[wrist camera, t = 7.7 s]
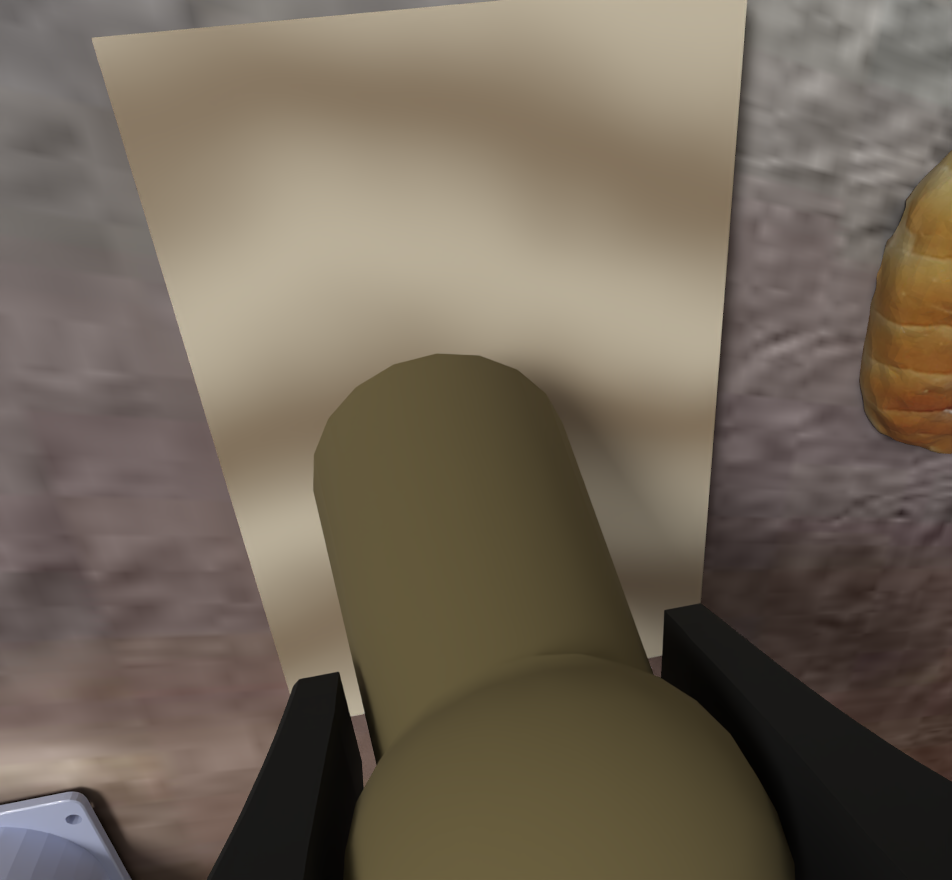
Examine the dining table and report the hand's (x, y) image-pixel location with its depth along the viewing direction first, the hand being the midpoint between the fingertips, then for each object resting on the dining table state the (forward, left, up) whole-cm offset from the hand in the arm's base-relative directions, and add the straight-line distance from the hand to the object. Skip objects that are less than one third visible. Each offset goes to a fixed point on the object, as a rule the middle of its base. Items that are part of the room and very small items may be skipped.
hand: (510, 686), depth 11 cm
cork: (+1, 0, -6) cm, 6 cm away
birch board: (0, -1, -10) cm, 10 cm away
